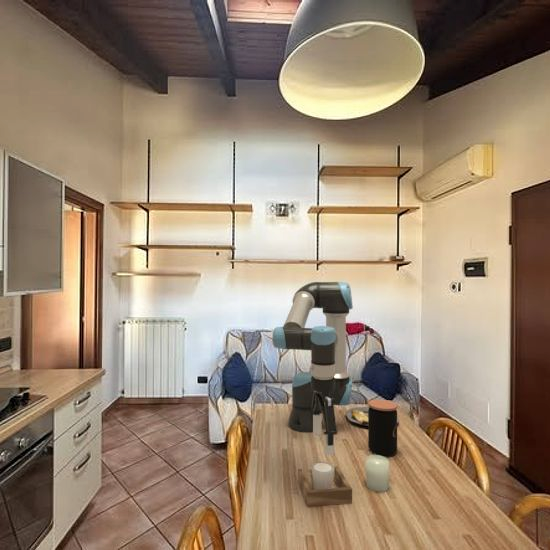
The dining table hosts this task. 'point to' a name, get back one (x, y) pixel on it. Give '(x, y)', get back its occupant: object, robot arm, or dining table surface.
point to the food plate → (359, 415)
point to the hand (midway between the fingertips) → (323, 444)
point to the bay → (326, 491)
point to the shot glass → (322, 475)
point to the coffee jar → (382, 427)
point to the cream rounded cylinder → (377, 473)
